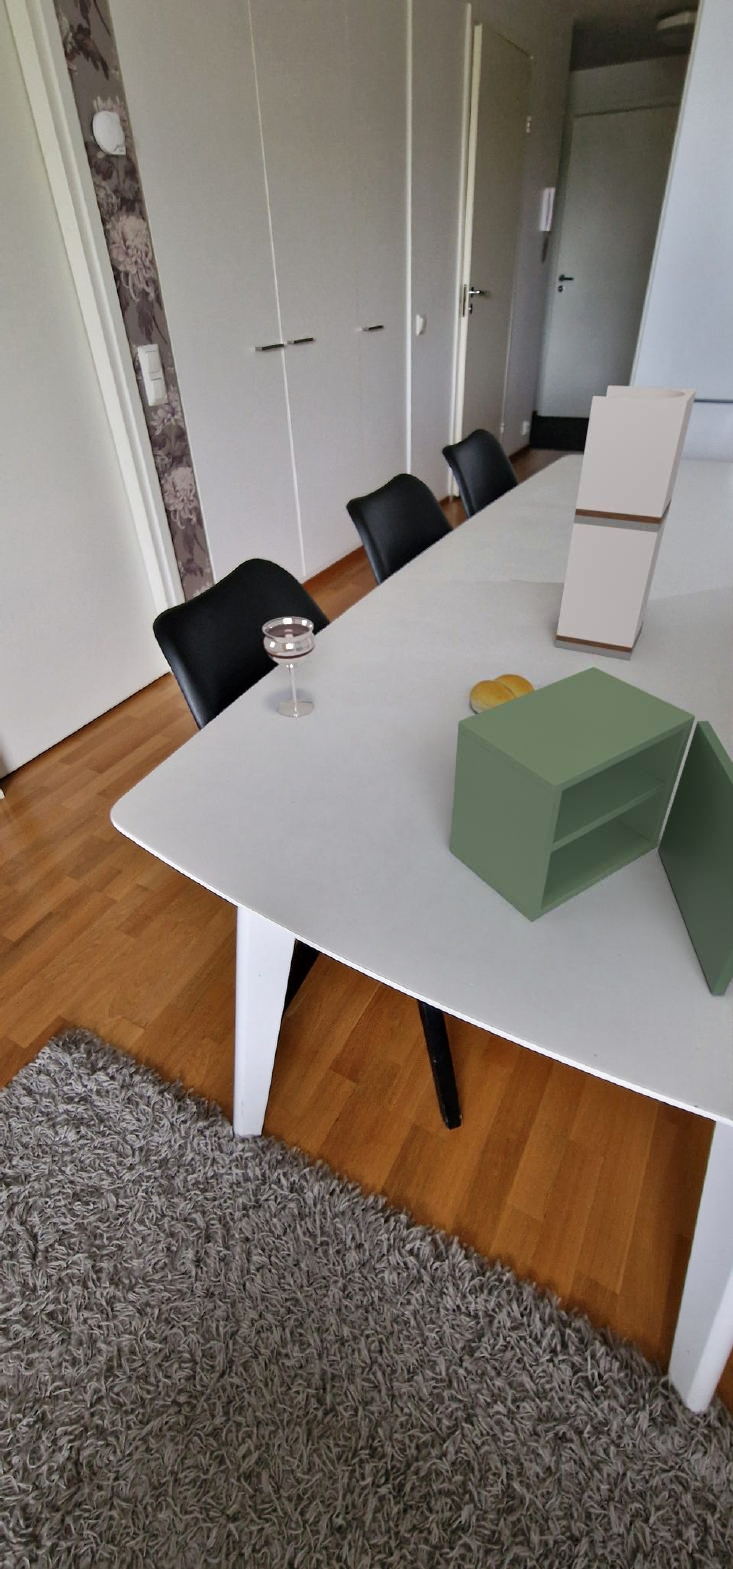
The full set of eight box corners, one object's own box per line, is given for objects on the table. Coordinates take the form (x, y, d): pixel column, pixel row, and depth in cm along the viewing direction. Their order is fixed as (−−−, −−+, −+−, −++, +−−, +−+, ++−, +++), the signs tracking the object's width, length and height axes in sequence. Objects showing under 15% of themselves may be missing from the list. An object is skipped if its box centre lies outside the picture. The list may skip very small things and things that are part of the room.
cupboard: (656, 846, 73) (696, 715, 64) (531, 921, 66) (555, 785, 56) (569, 790, 81) (593, 666, 72) (449, 851, 74) (458, 721, 64)
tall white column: (640, 632, 115) (696, 389, 94) (629, 660, 107) (687, 401, 86) (570, 621, 119) (609, 385, 98) (554, 646, 111) (592, 397, 90)
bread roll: (458, 700, 98) (460, 675, 96) (512, 686, 101) (515, 661, 99) (490, 729, 92) (493, 702, 90) (547, 713, 95) (551, 687, 93)
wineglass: (323, 696, 100) (318, 617, 93) (315, 721, 95) (309, 639, 88) (277, 694, 101) (268, 615, 94) (266, 719, 96) (256, 637, 88)
